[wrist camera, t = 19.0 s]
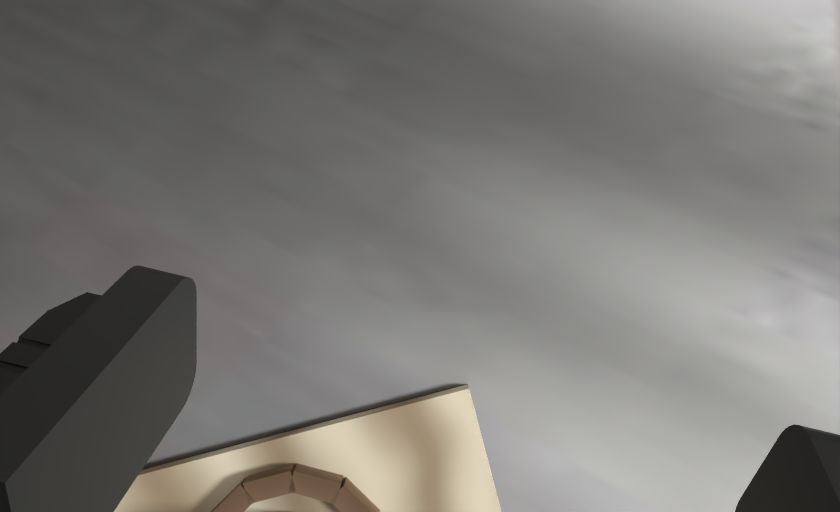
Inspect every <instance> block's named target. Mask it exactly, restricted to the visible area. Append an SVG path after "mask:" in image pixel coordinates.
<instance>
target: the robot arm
mask: <svg viewBox="0 0 840 512" xmlns="http://www.w3.org/2000/svg"><path fill="white" fill-rule="evenodd" d="M195 372H196V286H195V283H194V281H193V279H191V278H189V277H184V276H180V275H176V274H172V273H168V272H163V271H159V270H155V269H151V268H147V267H143V266H134V267H132V268H130V269H129V270H128V271H127V272H126V273H125V274H124V275H123V276H122V277H121V278H120V279H119V280H118V281H116V282H115V283H114V284H113V285H112V286H111V287H110V288H109V289H108V290H107V291H106V292H105V293H104V294H103V295H102V296H100V295H96V294H92V293H88V292H87V293H85V294H82V295H80V296H78V297H76V298H74V299H72V300H70V301H68V302H65V303H63V304H61V305H59V306H57V307H55V308H53V309H50V310H48V311H47V312H46V313H45V314H44V315H43V316H41V317H40V318H39V319H38V320H37V321H36V322H35V323H34V324H33V325H31V326H30V327H29V328H28V329H27V330H26V331H25V332H24V333H23V334H21V335H20V336H19V340H18V342H17V343H15V342H13V343H11V344H10V345H9V346H8V347H7V348H6V349H5V350H4V351H3V352H1V353H0V512H114V511H115V509H116V508H117V506H118V505H119V503H120V502H121V500H122V499H123V497H124V496H125V494H126V493H127V491H128V490H129V488H130V487H131V485H132V484H133V482H134V481H135V479H136V478H137V476H138V475H139V473H140V472H141V470H142V469H143V467H144V466H145V464H146V463H147V461H148V460H149V458H150V457H151V455H152V454H153V452H154V451H155V449H156V448H157V446H158V445H159V443H160V442H161V440H162V439H163V437H164V436H165V434H166V433H167V431H168V430H169V428H170V427H171V425H172V424H173V422H174V421H175V419H176V418H177V416H178V415H179V413H180V412H181V410H182V408H183V407H184V405H185V403H186V401H187V399H188V396H189V394H190V391H191V388H192V385H193V381H194V377H195ZM735 512H840V435H837V434H833V433H829V432H825V431H821V430H816V429H812V428H808V427H804V426H800V425H792V426H789V427H788V428H786V429H785V430H784V431H783V432H782V433H781V435H780V436H779V438H778V439H777V441H776V442H775V444H774V446H773V447H772V449H771V450H770V452H769V454H768V455H767V457H766V458H765V460H764V462H763V463H762V465H761V466H760V468H759V470H758V471H757V473H756V474H755V476H754V478H753V479H752V481H751V482H750V484H749V486H748V487H747V489H746V490H745V492H744V494H743V495H742V497H741V498H740V500H739V502H738V505H737V507H736V511H735Z"/></svg>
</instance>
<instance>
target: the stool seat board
mask: <svg viewBox="0 0 840 512" xmlns="http://www.w3.org/2000/svg"><path fill="white" fill-rule="evenodd" d="M114 512H501V508H500V504H499V500H498V497H497V493H496V489H495V485H494V481H493V478H492V474H491V470H490V466H489V462H488V459H487V455H486V451H485V447H484V443H483V440H482V436H481V432H480V428H479V424H478V421H477V417H476V413H475V409H474V406H473V402H472V398H471V394H470V390H469V387H468V384H467V385H463V386H459V387H456V388H452V389H448V390H444V391H440V392H437V393H433V394H429V395H425V396H421V397H418V398H414V399H410V400H406V401H402V402H399V403H395V404H391V405H387V406H383V407H379V408H376V409H372V410H368V411H364V412H360V413H357V414H353V415H349V416H345V417H341V418H338V419H334V420H330V421H326V422H322V423H319V424H315V425H311V426H307V427H303V428H300V429H296V430H292V431H288V432H284V433H281V434H277V435H273V436H269V437H265V438H261V439H258V440H254V441H250V442H246V443H242V444H239V445H235V446H231V447H227V448H223V449H220V450H216V451H212V452H208V453H204V454H201V455H197V456H193V457H189V458H185V459H182V460H178V461H174V462H170V463H166V464H162V465H159V466H155V467H151V468H147V469H143V470H141V472H140V473H139V475H138V476H137V478H136V479H135V481H134V482H133V484H132V485H131V487H130V488H129V490H128V491H127V493H126V494H125V496H124V497H123V499H122V500H121V502H120V503H119V505H118V506H117V508H116V509H115V511H114Z"/></svg>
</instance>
